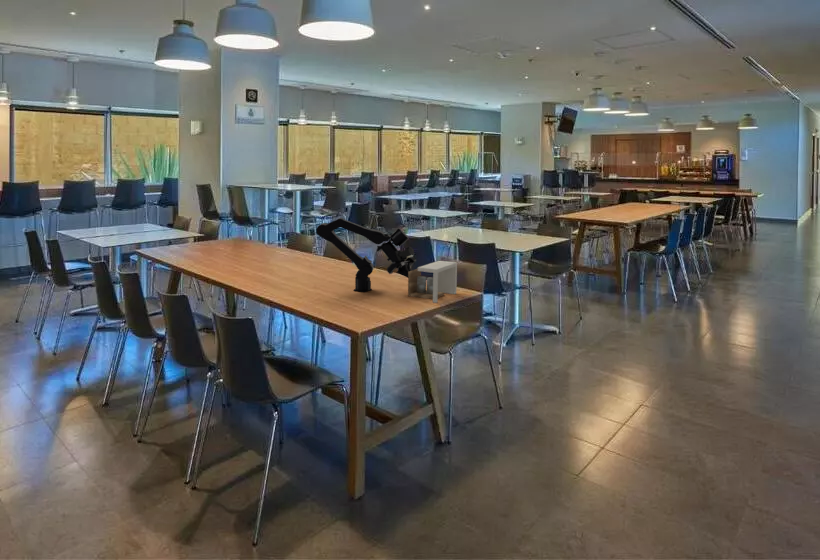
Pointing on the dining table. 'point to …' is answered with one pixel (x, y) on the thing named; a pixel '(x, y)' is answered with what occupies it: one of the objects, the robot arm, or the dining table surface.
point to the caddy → (420, 285)
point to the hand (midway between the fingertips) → (413, 279)
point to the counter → (442, 277)
